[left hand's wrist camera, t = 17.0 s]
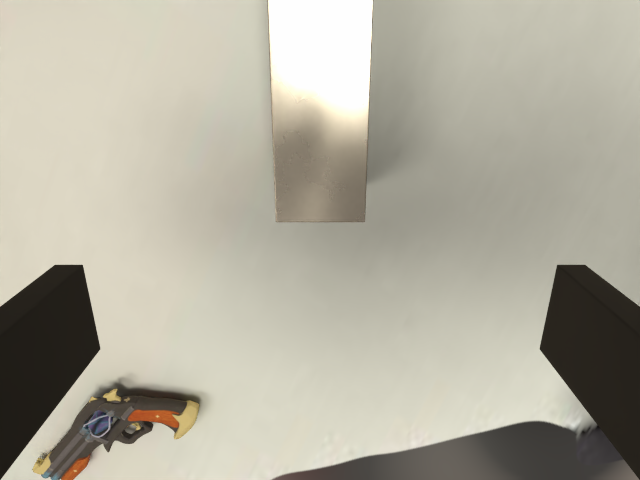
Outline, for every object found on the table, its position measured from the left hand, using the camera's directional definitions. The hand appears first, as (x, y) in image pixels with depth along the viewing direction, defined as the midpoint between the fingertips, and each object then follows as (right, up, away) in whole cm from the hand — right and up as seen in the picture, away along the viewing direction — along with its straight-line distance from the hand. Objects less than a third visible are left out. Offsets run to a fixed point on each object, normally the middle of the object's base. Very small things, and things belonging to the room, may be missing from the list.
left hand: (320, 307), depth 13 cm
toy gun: (-22, -19, +36) cm, 46 cm away
